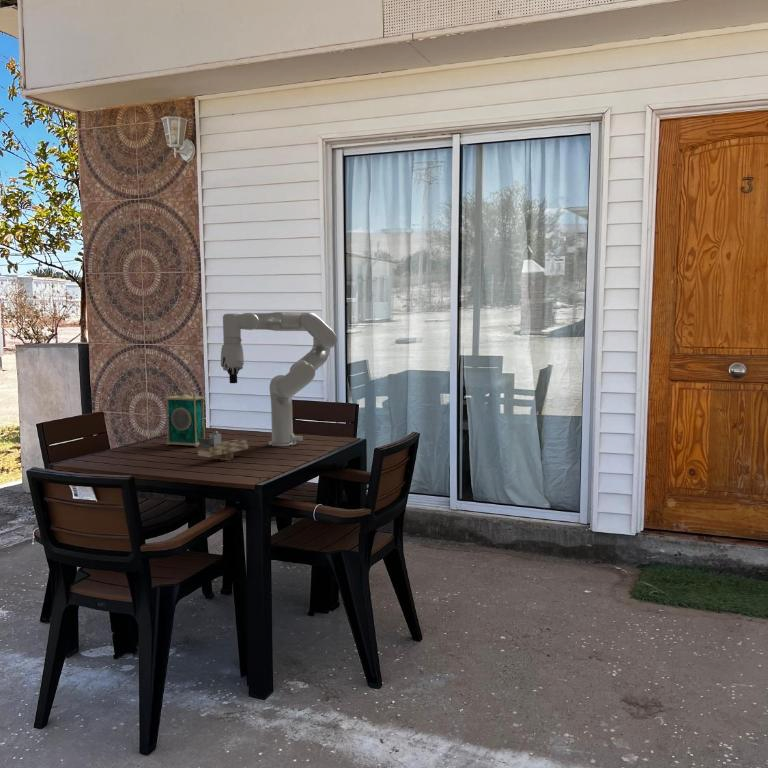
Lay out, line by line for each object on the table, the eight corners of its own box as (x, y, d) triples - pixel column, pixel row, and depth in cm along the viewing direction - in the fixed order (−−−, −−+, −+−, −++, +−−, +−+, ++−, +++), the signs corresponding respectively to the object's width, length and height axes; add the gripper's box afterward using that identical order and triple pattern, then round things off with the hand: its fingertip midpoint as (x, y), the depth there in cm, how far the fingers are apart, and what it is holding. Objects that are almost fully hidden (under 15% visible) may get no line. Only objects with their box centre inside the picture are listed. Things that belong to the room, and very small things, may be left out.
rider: (217, 447, 310) (216, 430, 310) (221, 447, 309) (221, 431, 308) (210, 448, 307) (209, 432, 306) (214, 449, 306) (213, 432, 305)
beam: (237, 454, 323) (236, 430, 322) (249, 455, 319) (248, 432, 318) (197, 462, 305) (196, 438, 304) (209, 464, 301) (208, 439, 300)
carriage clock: (165, 446, 345) (162, 380, 342) (176, 442, 353) (174, 378, 350) (196, 447, 339) (194, 381, 336) (207, 444, 347) (205, 379, 344)
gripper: (238, 340, 342) (239, 381, 343) (213, 342, 329) (214, 384, 331) (250, 341, 337) (251, 382, 339) (225, 342, 325) (226, 384, 327)
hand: (233, 383), depth 335 cm, fingers closed
